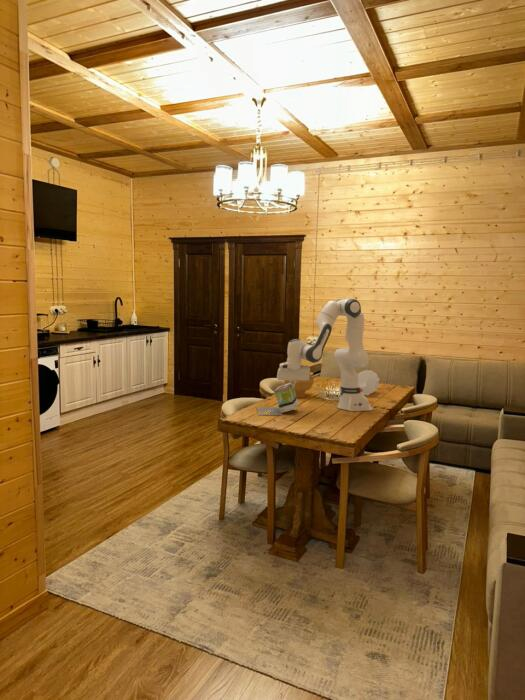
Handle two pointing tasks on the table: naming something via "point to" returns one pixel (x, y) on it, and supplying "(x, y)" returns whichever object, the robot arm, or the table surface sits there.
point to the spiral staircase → (368, 382)
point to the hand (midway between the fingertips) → (292, 387)
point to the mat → (275, 411)
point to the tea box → (286, 397)
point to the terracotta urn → (302, 386)
